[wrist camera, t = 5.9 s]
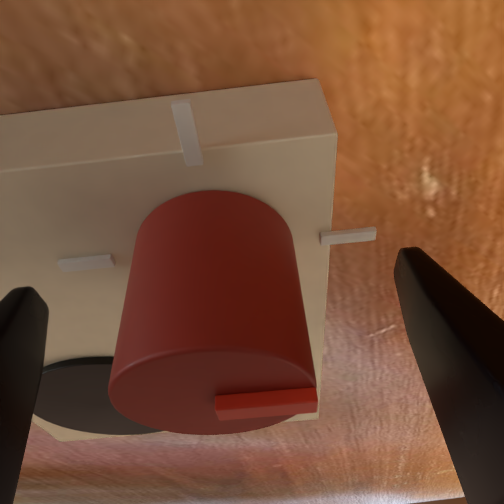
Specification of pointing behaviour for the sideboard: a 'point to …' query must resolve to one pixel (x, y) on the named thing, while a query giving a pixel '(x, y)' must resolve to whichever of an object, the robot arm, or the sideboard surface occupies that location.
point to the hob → (157, 198)
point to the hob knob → (213, 320)
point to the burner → (82, 398)
